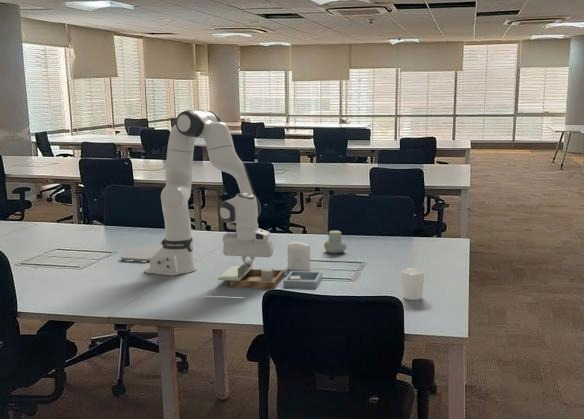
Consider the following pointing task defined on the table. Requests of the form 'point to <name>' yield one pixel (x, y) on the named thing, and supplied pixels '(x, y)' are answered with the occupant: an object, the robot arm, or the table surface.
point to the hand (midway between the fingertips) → (248, 266)
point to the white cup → (412, 283)
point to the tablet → (142, 253)
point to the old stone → (295, 278)
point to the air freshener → (335, 243)
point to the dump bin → (303, 279)
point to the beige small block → (267, 274)
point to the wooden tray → (258, 280)
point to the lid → (235, 273)
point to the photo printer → (298, 256)
